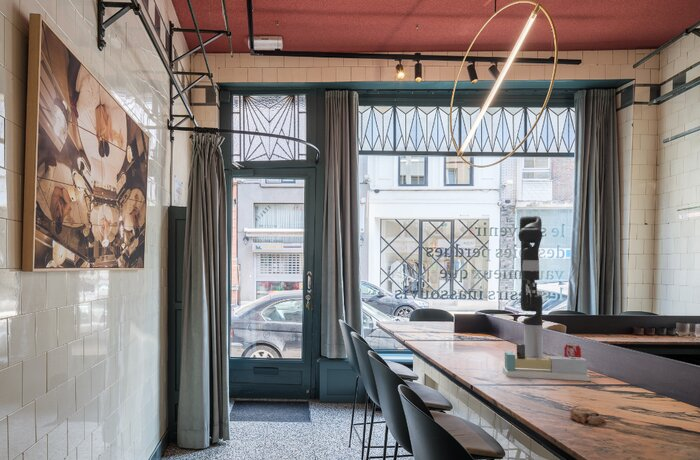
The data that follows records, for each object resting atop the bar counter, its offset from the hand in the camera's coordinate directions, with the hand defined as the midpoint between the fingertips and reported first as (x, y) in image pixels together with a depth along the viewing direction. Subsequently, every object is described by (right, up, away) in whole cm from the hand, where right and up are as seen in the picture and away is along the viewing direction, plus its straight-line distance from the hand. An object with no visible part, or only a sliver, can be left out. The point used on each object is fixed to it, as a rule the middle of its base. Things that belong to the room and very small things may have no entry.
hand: (531, 304), depth 224 cm
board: (0, -29, -16) cm, 33 cm away
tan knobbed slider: (-5, -26, -15) cm, 31 cm away
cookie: (-12, -25, -75) cm, 80 cm away
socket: (-15, -27, -14) cm, 34 cm away
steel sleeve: (+9, -27, -18) cm, 34 cm away
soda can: (+17, -30, -5) cm, 35 cm away
